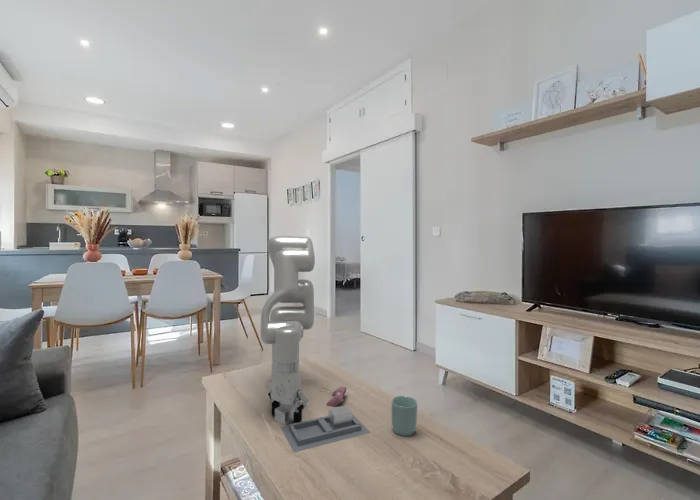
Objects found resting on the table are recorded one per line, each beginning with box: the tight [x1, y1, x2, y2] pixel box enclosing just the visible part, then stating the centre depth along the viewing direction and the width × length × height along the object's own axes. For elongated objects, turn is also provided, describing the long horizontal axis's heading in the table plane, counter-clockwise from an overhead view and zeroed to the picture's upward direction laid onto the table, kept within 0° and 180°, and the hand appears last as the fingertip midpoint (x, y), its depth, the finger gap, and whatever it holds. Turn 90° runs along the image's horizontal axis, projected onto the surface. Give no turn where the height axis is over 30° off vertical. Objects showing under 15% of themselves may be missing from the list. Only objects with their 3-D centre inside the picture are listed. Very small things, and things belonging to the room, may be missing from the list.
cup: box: [390, 395, 418, 437], centre depth 108 cm, size 8×8×10 cm
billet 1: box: [274, 403, 299, 426], centre depth 113 cm, size 4×6×5 cm
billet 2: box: [328, 405, 353, 430], centre depth 109 cm, size 4×6×5 cm
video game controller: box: [325, 385, 348, 407], centre depth 127 cm, size 10×5×7 cm, turn 169°
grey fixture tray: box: [280, 413, 371, 453], centre depth 107 cm, size 14×24×2 cm, turn 116°
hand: (286, 418), depth 113 cm, fingers open, 9 cm apart
